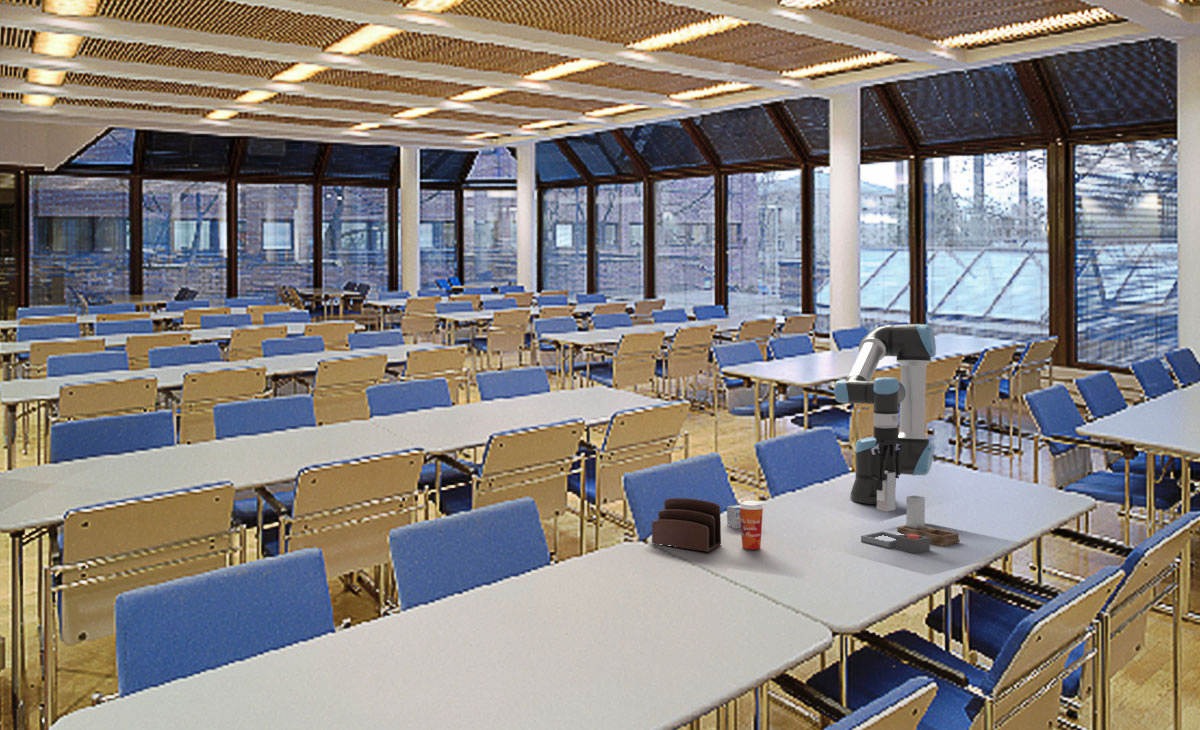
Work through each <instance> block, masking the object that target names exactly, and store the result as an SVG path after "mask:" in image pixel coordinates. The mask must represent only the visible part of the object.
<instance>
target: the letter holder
mask: <svg viewBox="0 0 1200 730" xmlns="http://www.w3.org/2000/svg"><path fill="white" fill-rule="evenodd" d="M657 516H658V517H657V519H654V520H653V521H652V522H651V544H652V543H655V544H654V545H656V544H662V545H671V546H676V547H682V548H681V549H683V548H687V549H686V550H691V549H692V551H699V552H706V553H709V552H711V551H712V550H714V548H715V549H717V548H718V547H720V546H721V545H720V544H722V536H721V535H722V533H721V532H722V531H721V530H722V529H721V527H722V526H721V522H722V521H721V506H720V505H719V504H718V503H715V502H712V501H708V500H707V501H706V500H703V499H696V498H681V497H678V498H677V497H672V498H666V499H665V500H664V509H660V510H659V511H658V515H657ZM662 545H661V546H662ZM719 545H720V546H719ZM717 546H718V547H717ZM676 547H675V548H676ZM716 547H717V548H716Z"/></svg>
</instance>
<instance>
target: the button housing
mask: <svg viewBox="0 0 1200 730" xmlns="http://www.w3.org/2000/svg"><path fill="white" fill-rule="evenodd" d="M909 534H912V533H909ZM895 549H896V550H898V551H902V552H907V553H911V554H914V555H917V554H921V553H925V552H928V551H929V552H930V549H931V544H930V537H925V536H921V535H919V538H918V539H911V538H907V534H904V535H899V536H896V547H895Z"/></svg>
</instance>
